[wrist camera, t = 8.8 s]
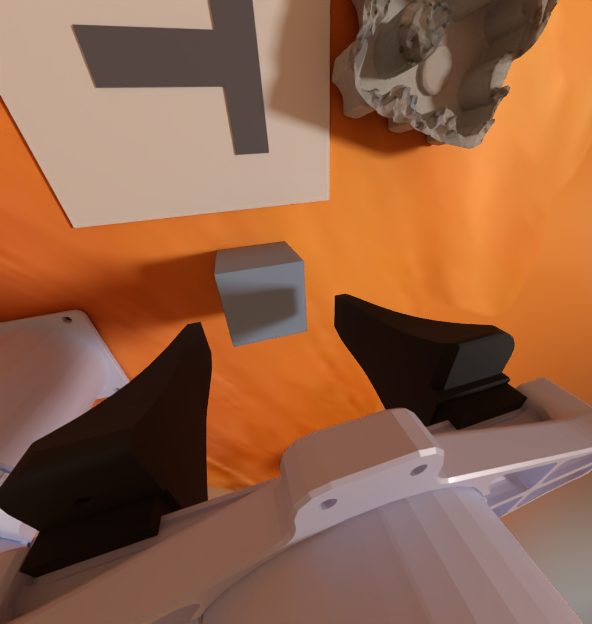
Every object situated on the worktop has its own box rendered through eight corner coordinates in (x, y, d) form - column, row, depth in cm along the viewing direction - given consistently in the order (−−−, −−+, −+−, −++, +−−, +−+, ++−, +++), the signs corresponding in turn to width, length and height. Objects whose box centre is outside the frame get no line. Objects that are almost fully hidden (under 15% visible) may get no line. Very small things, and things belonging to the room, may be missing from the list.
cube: (231, 309, 19) (233, 346, 15) (216, 250, 16) (214, 274, 12) (289, 299, 20) (307, 331, 16) (284, 241, 17) (303, 260, 13)
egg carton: (502, 21, 14) (592, -28, 11) (442, 161, 17) (496, 157, 14) (359, -98, 10) (428, -233, 7) (316, 110, 14) (350, 87, 10)
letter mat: (76, 227, 14) (72, 228, 13) (-217, -305, 6) (-235, -326, 6) (328, 199, 17) (329, 200, 16) (328, -182, 9) (331, -192, 9)
